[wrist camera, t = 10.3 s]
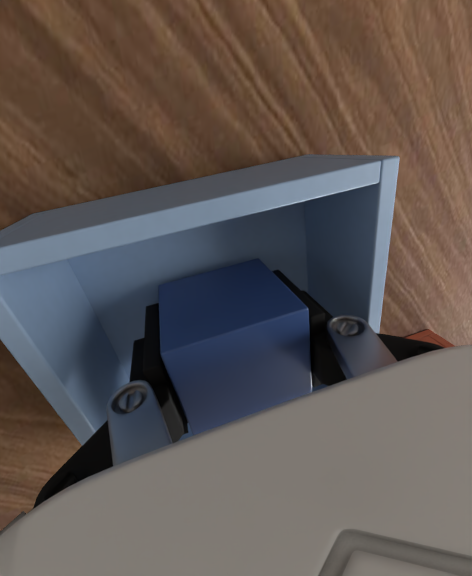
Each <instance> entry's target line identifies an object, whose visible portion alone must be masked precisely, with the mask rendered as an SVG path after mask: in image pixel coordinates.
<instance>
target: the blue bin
mask: <svg viewBox="0 0 472 576" xmlns="http://www.w3.org/2000/svg"><path fill="white" fill-rule="evenodd" d="M398 166H399V157H398V156H370V155H313V154H308V155H303V156H299V157H294V158H289V159H285V160H280V161H276V162H271V163H266V164H262V165H257V166H252V167H248V168H243V169H238V170H234V171H229V172H224V173H220V174H215V175H210V176H206V177H201V178H197V179H192V180H187V181H183V182H178V183H173V184H169V185H164V186H159V187H155V188H150V189H145V190H141V191H136V192H131V193H127V194H122V195H118V196H113V197H108V198H104V199H99V200H94V201H90V202H85V203H80V204H76V205H71V206H66V207H62V208H57V209H52V210H48V211H43V212H38V213H34V214H31V215H29V216H27V217H26V218H24V219H22V220H20V221H18V222H16V223H14V224H12V225H10V226H8V227H6V228H4V229H3V230H1V231H0V339H1V341H2V342H3V343H4V345H5V346H6V347H7V349H8V350H9V351H10V352H11V354H12V355H13V356H14V358H15V359H16V360H17V362H18V363H19V364H20V365H21V367H22V368H23V369H24V371H25V372H26V373H27V375H28V376H29V377H30V378H31V380H32V381H33V382H34V384H35V385H36V386H37V387H38V389H39V390H40V391H41V393H42V394H43V395H44V397H45V398H46V399H47V400H48V402H49V403H50V404H51V406H52V407H53V408H54V410H55V411H56V412H57V413H58V415H59V416H60V417H61V419H62V420H63V421H64V423H65V424H66V425H67V426H68V428H69V429H70V430H71V432H72V433H73V434H74V436H75V437H76V438H77V439H78V441H79V442H80V443H81V445H82V446H83V445H84V444H85V442H86V441H87V440H88V439H89V438H90V437H91V436H92V435H93V434H94V433H95V432H96V431H97V430H98V429H99V428H100V427H101V426H102V425H103V424H104V423H105V422H106V421H107V420H108V419H107V411H106V409H107V403H108V401H109V399H110V397H111V396H112V395H113V393H114V392H115V391H117V390H118V389H119V388H120V387H122V386H123V385H125V384H127V383H129V381H130V371H131V362H132V352H133V343H134V341H135V340H138V339H141V338H144V332H145V313H146V306H149V305H153V304H156V303H159V296H158V286H159V285H161V284H165V283H169V282H172V281H176V280H180V279H183V278H187V277H191V276H194V275H198V274H202V273H205V272H209V271H213V270H216V269H220V268H224V267H228V266H231V265H235V264H239V263H242V262H246V261H250V260H253V259H257V258H259V259H260V260H261V261H262V262H263V263H264V264H265V265H266V266H267V267H268V268H269V269H270V270H271V271H274V270H277V269H278V270H280V271H281V272H282V273H283V274H284V275H285V276H286V277H287V278H288V279H289V280H290V281H291V282H292V283H294V284H295V285H296V286H297V287H298V288H299V289H300V290H301V291H302V290H304V291H306V292H307V293H308V294H309V295H310V296H311V297H312V298H313V299H314V300H316V301H317V302H318V303H319V304H320V305H321V306H322V307H323V308H324V309H325V310H326V311H328V312H329V313H330V314H331V315H332V316H333V317H334V316H338V315H346V314H347V315H354V316H357V317H360V318H362V319H364V320H365V321H366V322H367V323H368V324H369V325H370V327H371V328H372V329H373V331H374V332H375V333H379V329H380V320H381V312H382V303H383V295H384V286H385V278H386V269H387V260H388V252H389V243H390V235H391V226H392V218H393V209H394V201H395V192H396V183H397V175H398ZM325 387H327V385H324V384H322V385H319V386H316V387H313V386H312V392H314V391H317V390H319V389H322V388H325ZM187 425H188V433H186V434H183V435H182V437H181V438H180V439H179V441H180V440H183V439H186V438H188V437H191V436H193V433H192V431H191V428H190V426H189V423H187Z"/></svg>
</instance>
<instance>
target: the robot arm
mask: <svg viewBox="0 0 472 576" xmlns="http://www.w3.org/2000/svg"><path fill="white" fill-rule="evenodd" d="M272 272H273V273H274V274H275V275H276V276H277V277H278V278H279V279H280V280H281V281H282V282H283V283H284V284H285V285H286V286H287V287H288V288H289V289H290V290H291V291H292V292H293V293H294V294H295V295H296V296H297V297H298V298H299V299H300V300H301V301H302V302H303V303H304V304H305V305H306V306H307V307H308V310H309V331H310V353H311V375H312V386H313V387H316V386H319V385H322V384H324V385H327V387H325V388H322V389H319V390H317V391H314V392H311V393H308V394H305V395H303V396H300V397H297V398H294V399H292V400H289V401H286V402H283V403H281V404H278V405H275V406H272V407H270V408H267V409H264V410H262V411H259V412H256V413H253V414H251V415H248V416H245V417H242V418H240V419H237V420H234V421H232V422H229V423H226V424H223V425H221V426H218V427H215V428H213V429H210V430H207V431H205V432H202V433H199V434H196V435H194V436H191V437H188V438H186V439H183V440H180V441H179V439H180V438H181V437H182V435H183V434H186V433H188V425H187V423H188V421H187V418H186V416H185V413H184V411H183V409H182V406H181V404H180V401H179V399H178V396H177V394H176V391H175V389H174V387H173V384H172V382H171V379H170V377H169V374H168V372H167V369H166V367H165V365H164V362H163V360H162V357H161V355H160V326H159V303H156V304H153V305H149V306H146V313H145V332H144V338H141V339H138V340H135V341H134V343H133V352H132V362H131V371H130V381H129V383H127V384H125V385H123V386H122V387H120V388H119V389H118V390H117V391H115V392H114V393H113V395H112V396H111V397H110V399H109V401H108V403H107V409H106V411H107V419H108V420H107V421H106V422H105V423H104V424H103V425H102V426H101V427H100V428H99V429H98V430H97V431H96V432H95V433H94V434H93V435H92V436H91V437H90V438H89V439H88V440H87V441H86V442H85V444H84V445H83V446H82V447H81V448H80V449H79V450H78V451H77V452H76V453H75V454H74V455H73V456H72V457H71V458H70V459H69V460H68V461H67V462H66V463H65V464H64V465H63V466H62V467H61V468H60V469H59V470H58V471H57V472H56V473H55V474H54V475H53V476H52V477H51V478H50V480H49V481H48V482H47V483H46V484H45V486H44V487H43V488H42V490H41V491H40V493H39V495H38V497H37V499H36V502H35V505H34V508H33V509H32V510H31V511H30V512H28V513H27V514H26V513H25V512H24V511H23V512H22V513H21V514H19V515H18V516H17V517H16V518H15V519H14V520H13V521H12V522H10V523H9V524H8V525H7V526H6V527H5V528H4V529H3V530H2V531H0V576H472V345H462V346H454V347H448V348H444V347H442V346H440V345H437V344H434V343H430V342H424V341H419V340H413V339H407V338H402V337H396V336H390V335H385V334H379V333H375V332H374V331H373V329H372V328H371V327H370V325H369V324H368V323H367V322H366V321H365V320H364V319H362V318H360V317H357V316H354V315H347V314H346V315H338V316H334V317H333V316H332V315H331V314H330V313H329V312H328V311H326V310H325V309H324V308H323V307H322V306H321V305H320V304H319V303H318V302H317V301H316V300H314V299H313V298H312V297H311V296H310V295H309V294H308V293H307V292H306V291H304V290H302V291H301V290H300V289H299V288H298V287H297V286H296V285H295V284H294V283H292V282H291V281H290V280H289V279H288V278H287V277H286V276H285V275H284V274H283V273H282V272H281V271H280V270H278V269H277V270H274V271H272Z"/></svg>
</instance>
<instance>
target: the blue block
mask: <svg viewBox="0 0 472 576" xmlns="http://www.w3.org/2000/svg"><path fill="white" fill-rule="evenodd" d="M158 296H159V326H160V355H161V357H162V360H163V362H164V365H165V367H166V369H167V372H168V374H169V377H170V379H171V382H172V384H173V387H174V389H175V391H176V394H177V396H178V399H179V401H180V404H181V406H182V409H183V411H184V413H185V416H186V418H187V421H188V423H189V426H190V428H191V431H192V433H193V436H194V435H196V434H199V433H202V432H205V431H207V430H210V429H213V428H215V427H218V426H221V425H223V424H226V423H229V422H232V421H234V420H237V419H240V418H242V417H245V416H248V415H251V414H253V413H256V412H259V411H262V410H264V409H267V408H270V407H272V406H275V405H278V404H281V403H283V402H286V401H289V400H292V399H294V398H297V397H300V396H303V395H305V394H308V393H311V392H312V375H311V353H310V331H309V310H308V307H307V306H306V305H305V304H304V303H303V302H302V301H301V300H300V299H299V298H298V297H297V296H296V295H295V294H294V293H293V292H292V291H291V290H290V289H289V288H288V287H287V286H286V285H285V284H284V283H283V282H282V281H281V280H280V279H279V278H278V277H277V276H276V275H275V274H274V273H273V272H272V271H271V270H270V269H269V268H268V267H267V266H266V265H265V264H264V263H263V262H262V261H261V260H260V259H259V258H257V259H253V260H250V261H246V262H242V263H239V264H235V265H231V266H228V267H224V268H220V269H216V270H213V271H209V272H205V273H202V274H198V275H194V276H191V277H187V278H183V279H180V280H176V281H172V282H169V283H165V284H161V285H159V286H158Z"/></svg>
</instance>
